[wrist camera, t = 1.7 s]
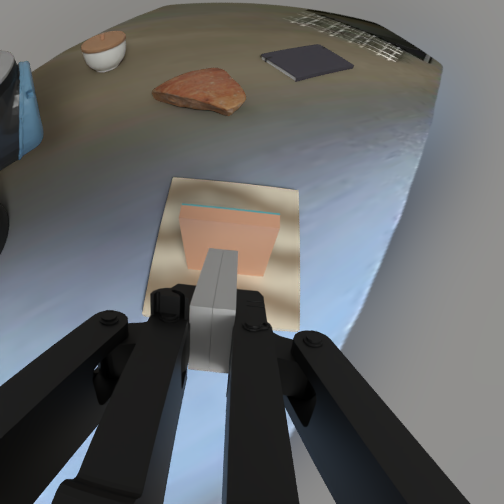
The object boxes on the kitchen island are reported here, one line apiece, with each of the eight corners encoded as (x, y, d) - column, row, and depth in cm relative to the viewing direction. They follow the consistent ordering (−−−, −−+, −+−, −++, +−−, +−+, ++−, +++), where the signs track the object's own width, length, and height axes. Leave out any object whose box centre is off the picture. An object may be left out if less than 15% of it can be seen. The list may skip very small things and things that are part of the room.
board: (297, 331, 36) (299, 329, 35) (144, 316, 35) (142, 313, 34) (296, 194, 45) (298, 190, 44) (173, 181, 44) (173, 177, 43)
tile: (263, 276, 38) (279, 228, 28) (187, 269, 37) (178, 217, 27) (263, 264, 38) (280, 213, 29) (189, 256, 38) (181, 203, 28)
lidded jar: (83, 66, 59) (77, 36, 51) (122, 52, 63) (118, 22, 54) (90, 82, 55) (83, 48, 47) (133, 66, 59) (129, 32, 51)
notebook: (295, 83, 61) (352, 69, 68) (296, 77, 59) (354, 65, 67) (258, 59, 65) (318, 48, 72) (259, 54, 63) (319, 43, 71)
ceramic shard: (183, 112, 44) (148, 85, 51) (192, 142, 50) (157, 110, 57) (258, 77, 48) (212, 56, 54) (261, 106, 53) (217, 80, 60)
